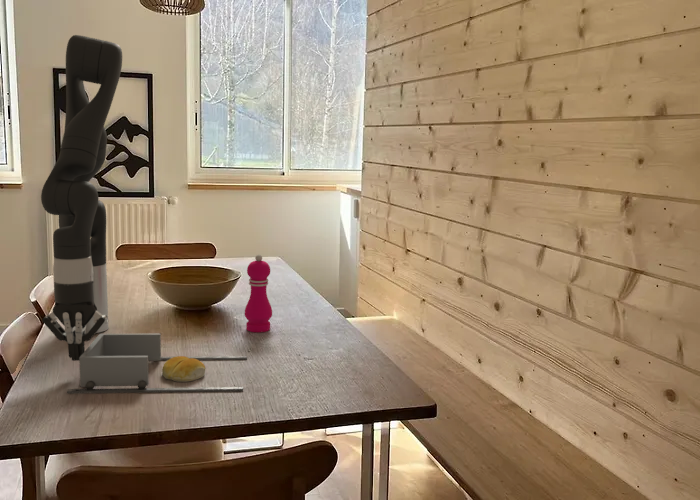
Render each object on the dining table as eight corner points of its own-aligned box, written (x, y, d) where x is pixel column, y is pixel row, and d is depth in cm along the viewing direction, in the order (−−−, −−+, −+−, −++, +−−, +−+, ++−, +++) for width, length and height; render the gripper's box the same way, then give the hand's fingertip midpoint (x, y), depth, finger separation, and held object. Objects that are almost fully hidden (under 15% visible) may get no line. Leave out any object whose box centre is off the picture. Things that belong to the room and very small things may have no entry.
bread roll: (182, 366, 149) (182, 348, 148) (211, 375, 144) (211, 357, 143) (152, 376, 142) (152, 358, 141) (182, 386, 137) (182, 367, 137)
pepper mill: (267, 334, 173) (267, 258, 170) (240, 331, 175) (240, 256, 171) (275, 326, 180) (276, 253, 177) (250, 324, 182) (250, 251, 178)
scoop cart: (79, 390, 133) (77, 359, 131) (102, 359, 150) (101, 332, 149) (146, 389, 134) (146, 358, 133) (161, 359, 151) (161, 332, 150)
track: (67, 393, 131) (66, 391, 131) (94, 359, 151) (94, 357, 151) (243, 391, 135) (243, 388, 135) (247, 358, 155) (247, 356, 155)
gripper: (33, 282, 133) (37, 365, 136) (102, 282, 134) (105, 365, 137) (46, 274, 140) (50, 353, 143) (111, 274, 142) (114, 353, 145)
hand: (77, 359), depth 140 cm, fingers closed
